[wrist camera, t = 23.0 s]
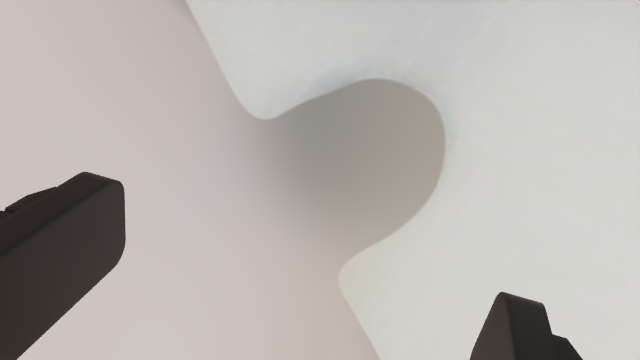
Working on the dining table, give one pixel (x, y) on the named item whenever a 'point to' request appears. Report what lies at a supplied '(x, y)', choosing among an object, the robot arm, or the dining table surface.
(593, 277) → the dining table surface
